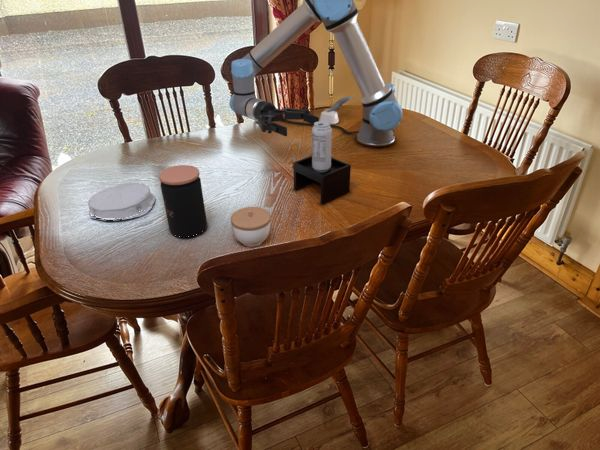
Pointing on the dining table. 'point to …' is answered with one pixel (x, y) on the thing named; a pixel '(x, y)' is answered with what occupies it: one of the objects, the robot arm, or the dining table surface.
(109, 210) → the food container
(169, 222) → the coffee jar
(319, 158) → the energy drink can
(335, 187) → the stand
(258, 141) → the dining table surface
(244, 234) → the trinket box
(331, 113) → the inkwell
